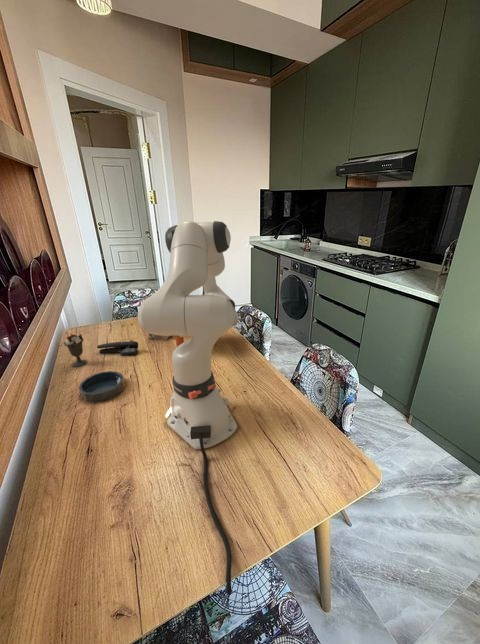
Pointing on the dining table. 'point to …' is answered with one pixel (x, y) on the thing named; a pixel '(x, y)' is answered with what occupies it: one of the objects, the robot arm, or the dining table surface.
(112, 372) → the dish
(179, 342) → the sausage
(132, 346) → the can opener
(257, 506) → the dining table surface
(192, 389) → the robot arm
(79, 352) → the sundae
